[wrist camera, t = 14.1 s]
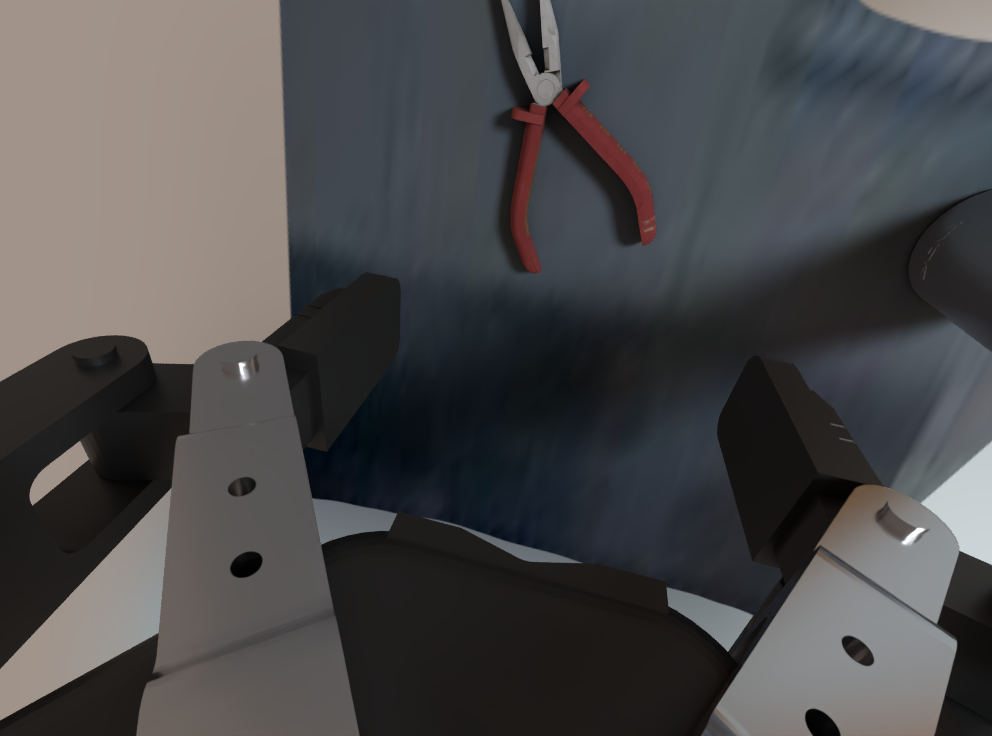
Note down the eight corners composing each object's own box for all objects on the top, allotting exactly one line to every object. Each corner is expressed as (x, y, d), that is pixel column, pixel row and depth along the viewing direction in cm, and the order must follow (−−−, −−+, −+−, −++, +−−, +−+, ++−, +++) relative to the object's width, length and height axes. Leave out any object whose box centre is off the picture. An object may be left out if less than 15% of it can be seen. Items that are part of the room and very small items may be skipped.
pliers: (606, -71, 29) (605, -81, 27) (658, 235, 39) (661, 245, 37) (444, 8, 33) (432, 5, 31) (527, 269, 43) (523, 280, 41)
